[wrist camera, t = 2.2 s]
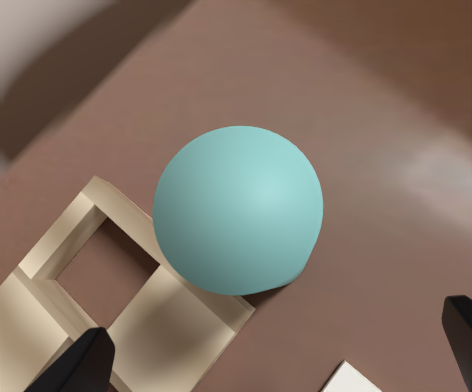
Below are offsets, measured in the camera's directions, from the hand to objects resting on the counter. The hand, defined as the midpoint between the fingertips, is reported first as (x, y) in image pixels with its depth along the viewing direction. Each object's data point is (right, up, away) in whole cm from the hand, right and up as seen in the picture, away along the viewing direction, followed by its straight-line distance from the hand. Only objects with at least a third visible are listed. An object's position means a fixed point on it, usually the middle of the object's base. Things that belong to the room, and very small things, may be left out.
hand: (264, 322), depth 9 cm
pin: (+1, 0, +10) cm, 10 cm away
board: (-9, -5, +11) cm, 15 cm away
